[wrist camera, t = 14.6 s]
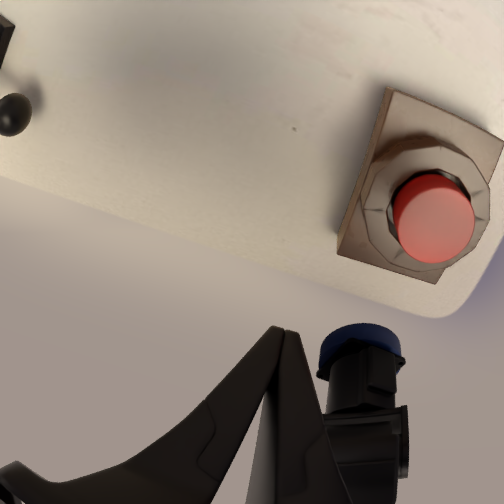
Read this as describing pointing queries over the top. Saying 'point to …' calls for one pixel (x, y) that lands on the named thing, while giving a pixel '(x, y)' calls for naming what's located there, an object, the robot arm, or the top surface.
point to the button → (433, 218)
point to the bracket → (4, 36)
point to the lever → (14, 114)
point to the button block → (407, 168)
